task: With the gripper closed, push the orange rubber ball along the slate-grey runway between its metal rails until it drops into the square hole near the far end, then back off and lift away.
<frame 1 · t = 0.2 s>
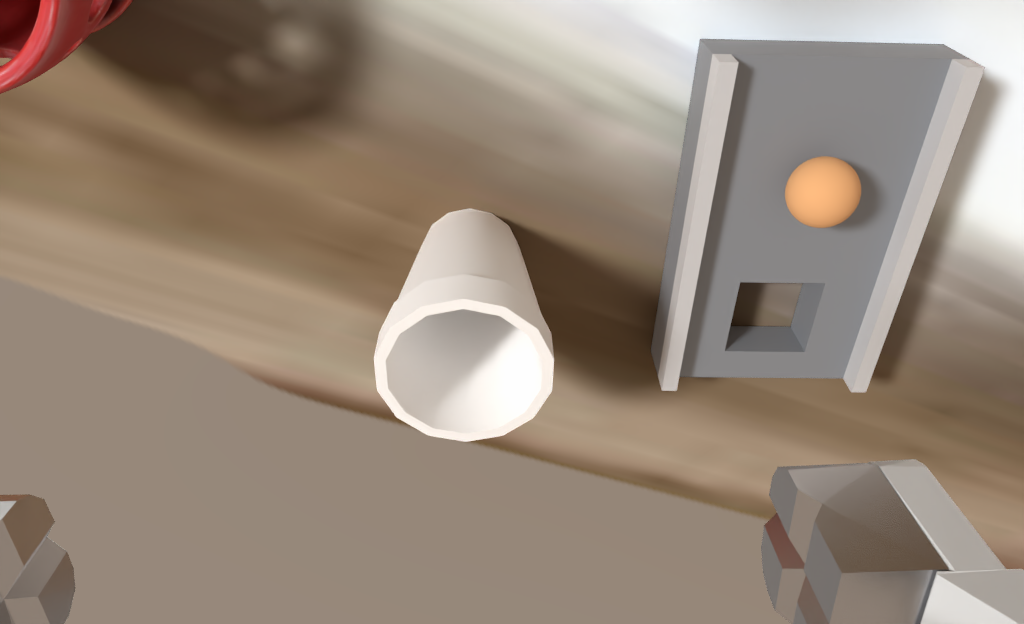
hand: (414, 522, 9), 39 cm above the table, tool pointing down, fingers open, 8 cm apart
ball: (822, 192, 43), point 5 cm above the table, touching runway
foam cup: (470, 250, 51), on the table
runway: (779, 215, 50), on the table
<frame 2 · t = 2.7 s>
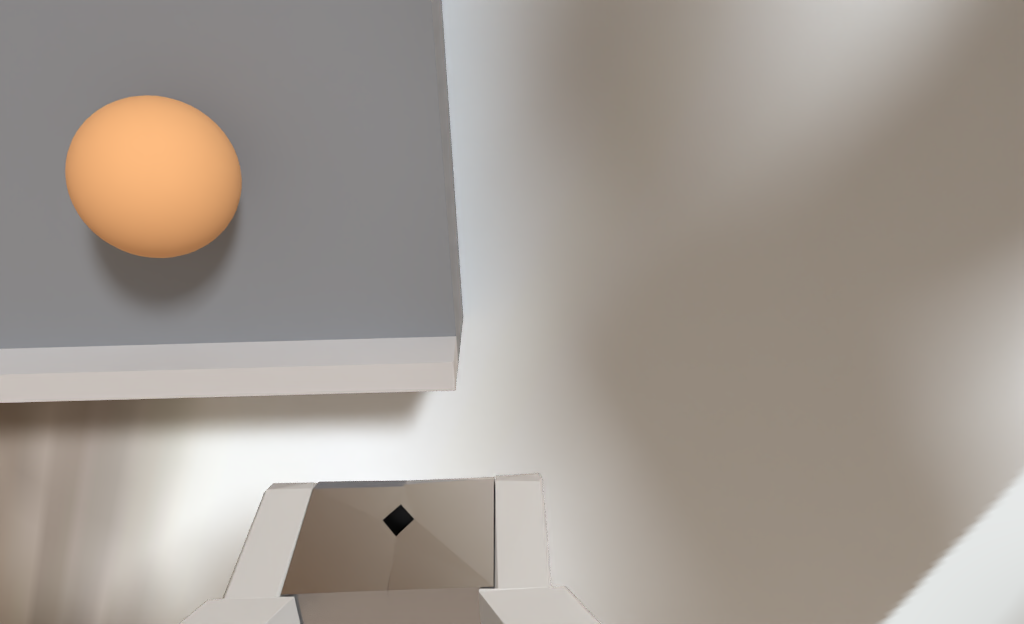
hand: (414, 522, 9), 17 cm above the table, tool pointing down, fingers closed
ball: (157, 178, 19), point 5 cm above the table, touching runway
runway: (92, 128, 24), on the table
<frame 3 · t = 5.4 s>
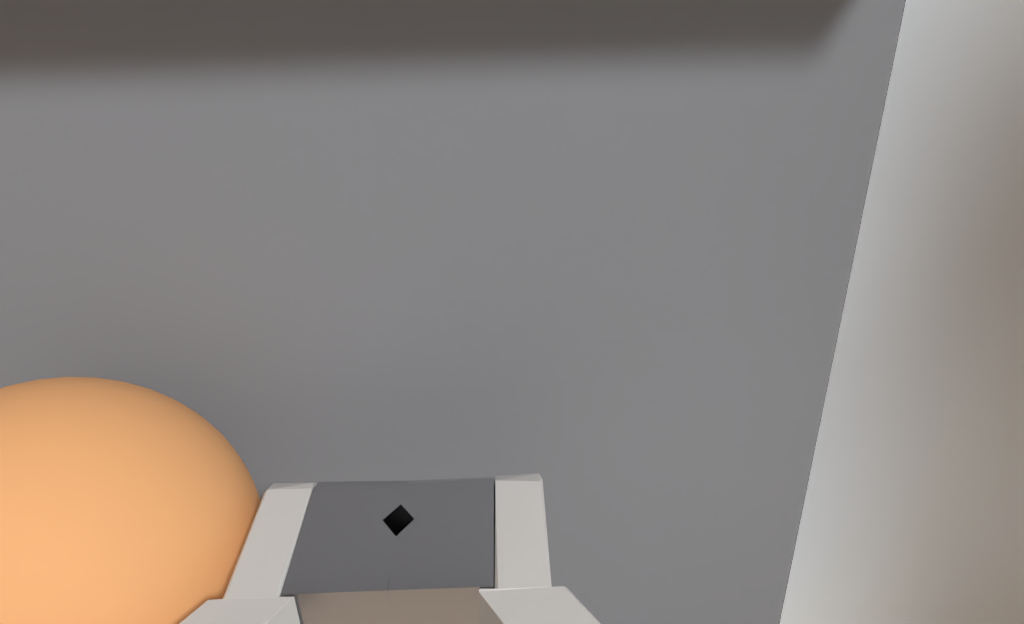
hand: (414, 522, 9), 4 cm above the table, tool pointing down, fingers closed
ball: (66, 570, 8), point 5 cm above the table, tilted 44°, touching runway
runway: (67, 335, 12), on the table
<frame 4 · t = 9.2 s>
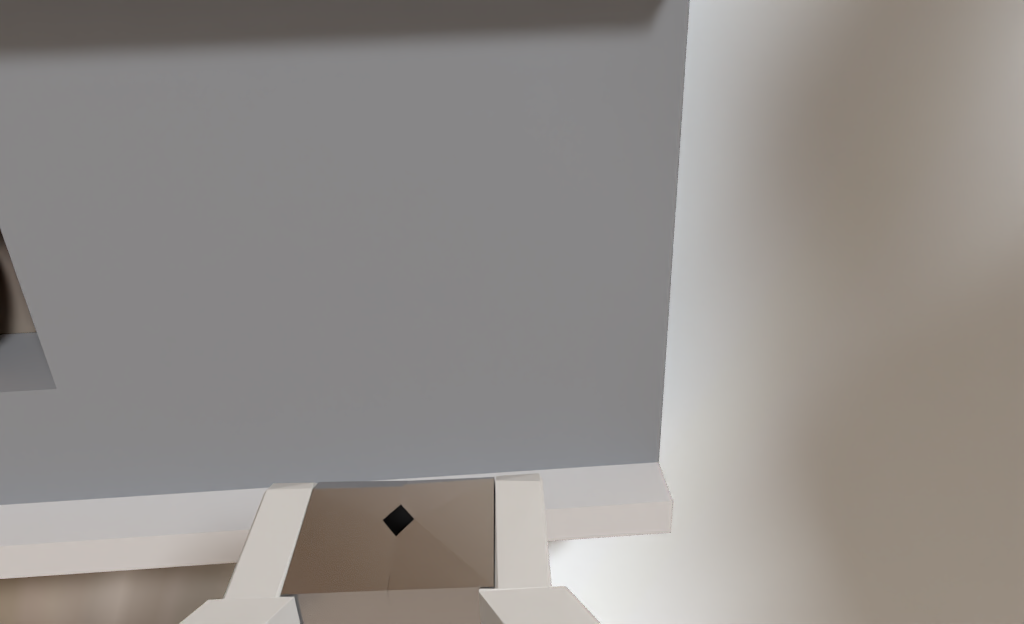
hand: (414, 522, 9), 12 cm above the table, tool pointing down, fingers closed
runway: (211, 224, 19), on the table
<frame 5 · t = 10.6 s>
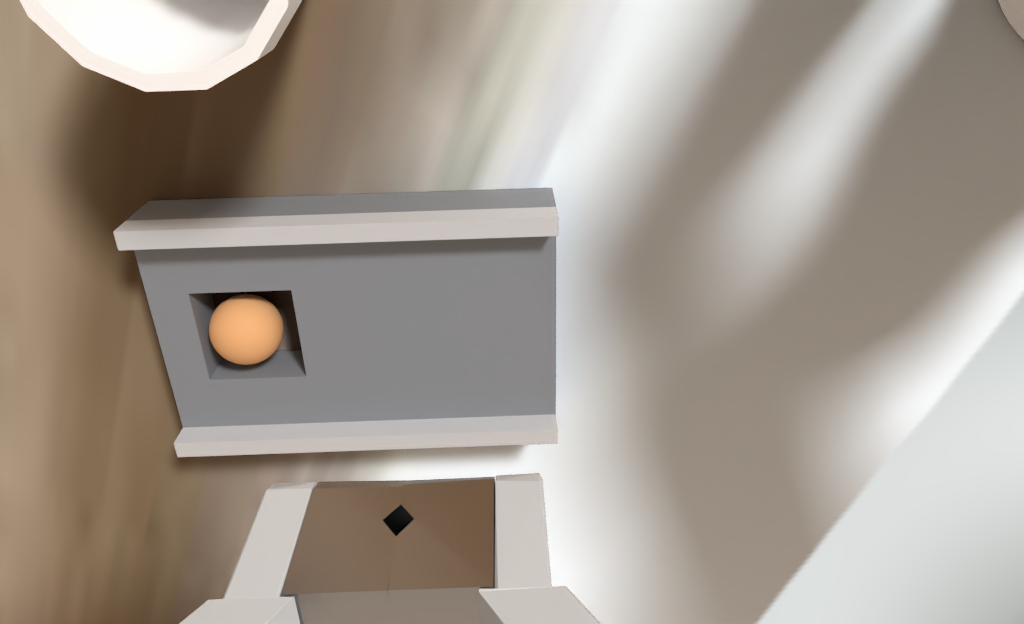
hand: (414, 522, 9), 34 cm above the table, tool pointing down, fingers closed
ball: (246, 329, 44), point 2 cm above the table, tilted 27°
runway: (365, 307, 45), on the table
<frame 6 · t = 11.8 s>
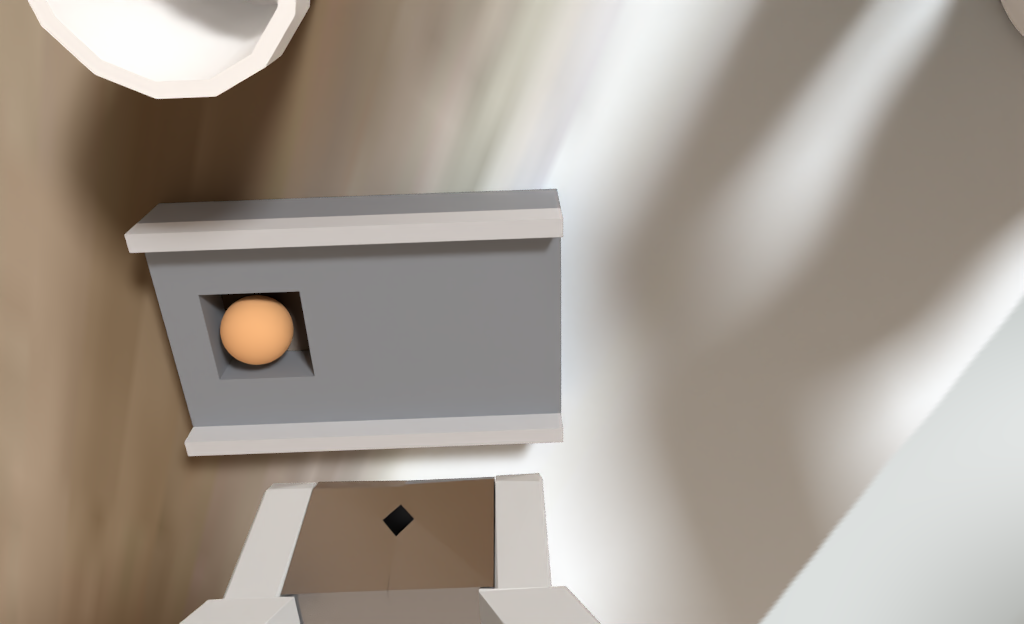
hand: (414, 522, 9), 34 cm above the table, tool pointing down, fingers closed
ball: (257, 329, 44), point 2 cm above the table, tilted 29°
runway: (372, 308, 46), on the table
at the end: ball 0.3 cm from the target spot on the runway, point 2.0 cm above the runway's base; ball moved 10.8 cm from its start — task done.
